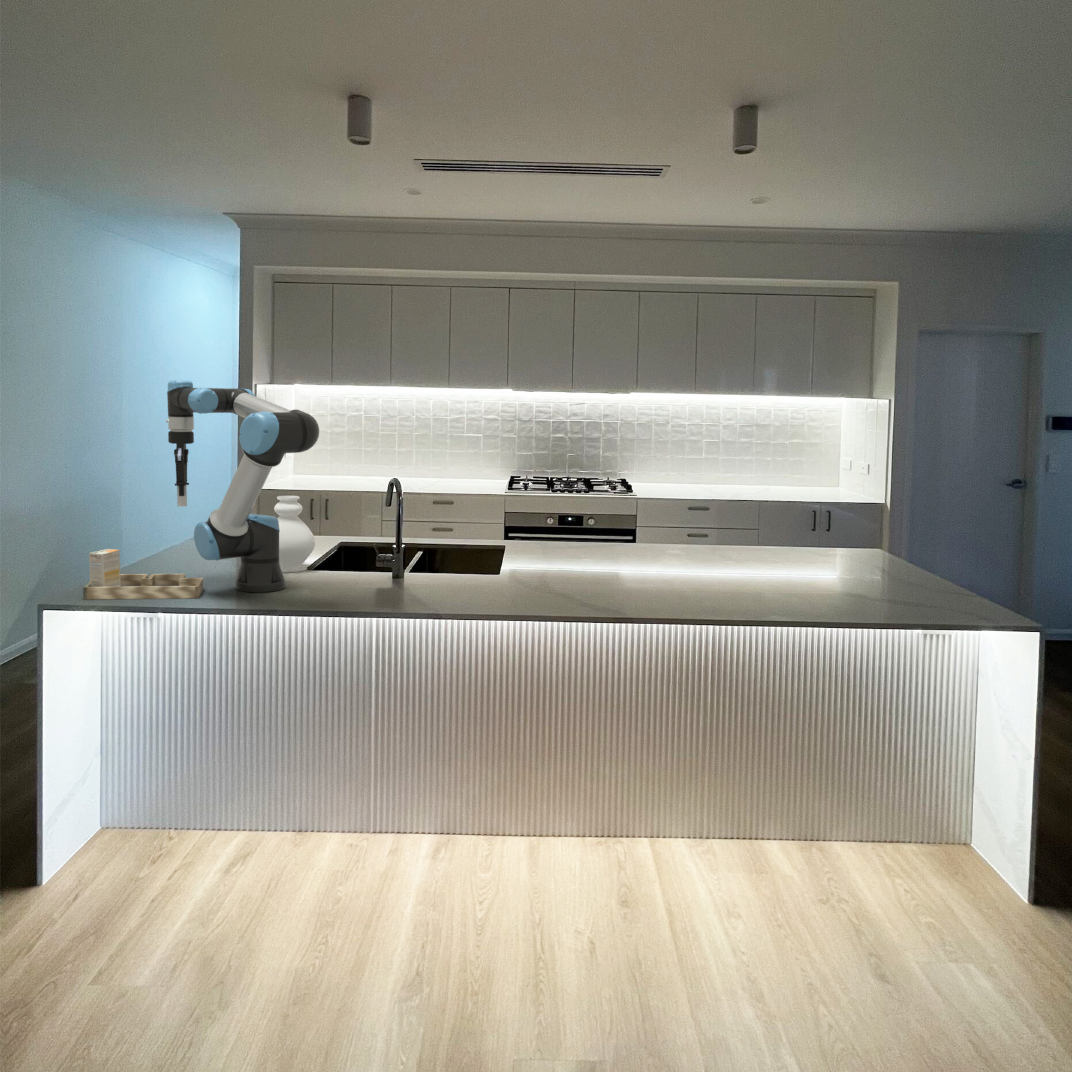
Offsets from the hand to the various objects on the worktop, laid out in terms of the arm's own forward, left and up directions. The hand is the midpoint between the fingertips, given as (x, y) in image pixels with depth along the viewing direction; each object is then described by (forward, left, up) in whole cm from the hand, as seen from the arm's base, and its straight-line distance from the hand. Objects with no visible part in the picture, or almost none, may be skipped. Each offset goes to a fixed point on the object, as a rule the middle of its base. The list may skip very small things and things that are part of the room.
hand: (182, 506), depth 338 cm
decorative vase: (-32, -23, -25) cm, 47 cm away
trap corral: (+9, +14, -24) cm, 30 cm away
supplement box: (+20, +18, -25) cm, 36 cm away
